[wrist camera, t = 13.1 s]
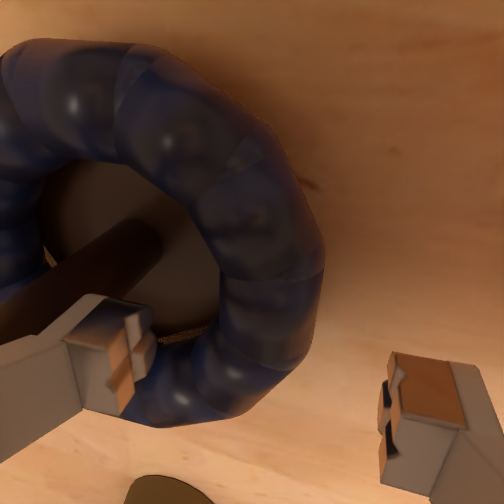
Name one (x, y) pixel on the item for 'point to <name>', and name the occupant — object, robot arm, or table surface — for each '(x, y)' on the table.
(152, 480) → the olive game pawn
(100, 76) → the ring
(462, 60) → the table surface
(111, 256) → the post
